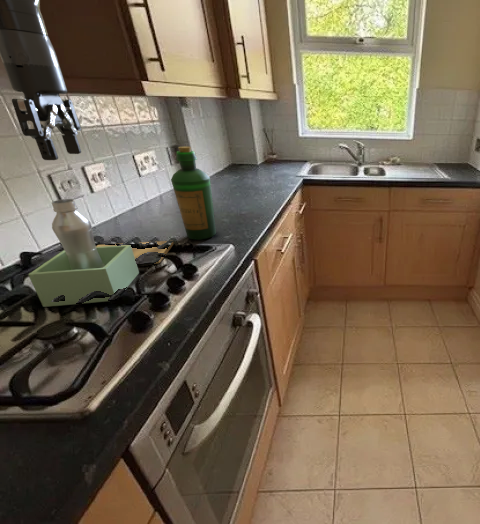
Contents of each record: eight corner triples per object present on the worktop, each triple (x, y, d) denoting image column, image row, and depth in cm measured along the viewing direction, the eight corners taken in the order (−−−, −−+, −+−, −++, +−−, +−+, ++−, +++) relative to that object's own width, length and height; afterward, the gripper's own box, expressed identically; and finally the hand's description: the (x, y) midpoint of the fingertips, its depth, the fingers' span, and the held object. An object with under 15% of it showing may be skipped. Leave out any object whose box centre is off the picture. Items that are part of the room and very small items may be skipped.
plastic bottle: (90, 294, 73) (56, 207, 65) (69, 289, 75) (33, 203, 67) (118, 281, 79) (90, 199, 70) (98, 276, 81) (68, 196, 72)
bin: (43, 307, 70) (27, 274, 67) (77, 277, 82) (65, 248, 78) (116, 300, 73) (105, 268, 70) (139, 272, 85) (130, 244, 82)
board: (73, 269, 86) (72, 265, 85) (99, 248, 98) (98, 244, 97) (159, 263, 90) (158, 259, 90) (173, 244, 102) (172, 240, 102)
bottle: (177, 237, 108) (156, 146, 96) (207, 228, 116) (191, 144, 104) (196, 244, 103) (176, 150, 91) (226, 235, 111) (211, 147, 99)
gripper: (32, 65, 65) (61, 151, 72) (-26, 56, 52) (16, 162, 59) (77, 68, 67) (101, 152, 74) (31, 60, 54) (66, 162, 61)
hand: (63, 156), depth 66 cm, fingers open, 8 cm apart
